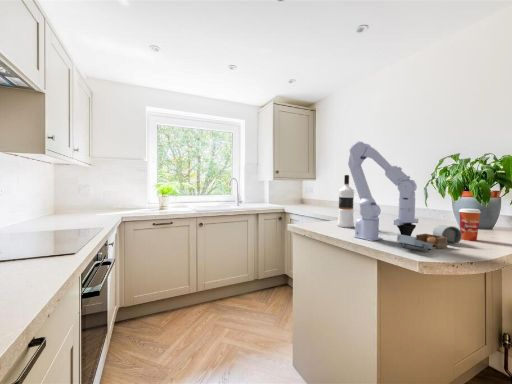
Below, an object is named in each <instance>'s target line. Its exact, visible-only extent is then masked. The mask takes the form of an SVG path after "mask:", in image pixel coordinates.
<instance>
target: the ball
mask: <svg viewBox="0 0 512 384" xmlns="http://www.w3.org/2000/svg"><path fill="white" fill-rule="evenodd" d="M427 243H431V244H433V247H435V238H434V237H429V238H427Z"/></svg>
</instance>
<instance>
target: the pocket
mask: <svg viewBox="0 0 512 384" xmlns="http://www.w3.org/2000/svg"><path fill="white" fill-rule="evenodd" d="M415 237H416V240H419V241H423V242H427V238H429V237H434V238H435V246H434V249H436V250H440V249H445V248H447V247H448V244H447V237H443V236H437V235H433V234H431V233H419V234H416V236H415Z"/></svg>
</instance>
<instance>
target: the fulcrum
mask: <svg viewBox="0 0 512 384" xmlns="http://www.w3.org/2000/svg"><path fill="white" fill-rule="evenodd" d="M402 248H406V249H409V250H414V251H419V252H423V253H428V252H429V248H428V245H424V248H423V247H418V246H414V245H409V244H406V243H402Z"/></svg>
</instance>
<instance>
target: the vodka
mask: <svg viewBox="0 0 512 384" xmlns="http://www.w3.org/2000/svg"><path fill="white" fill-rule="evenodd" d="M343 178H344V181H343V183H344V184H343V186H342V187H341V188H339V190H338V210H337V211H338V214H337V215H338V217H337V222H336V223H337V226H338V227H340V228H346V229H348V228H350V229H351V228H353V227H354V228H355V221H354V198H355V196H354V195H355V190H354V189H353V188H352V187H351V186H350V175H349V174H344V177H343Z"/></svg>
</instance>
